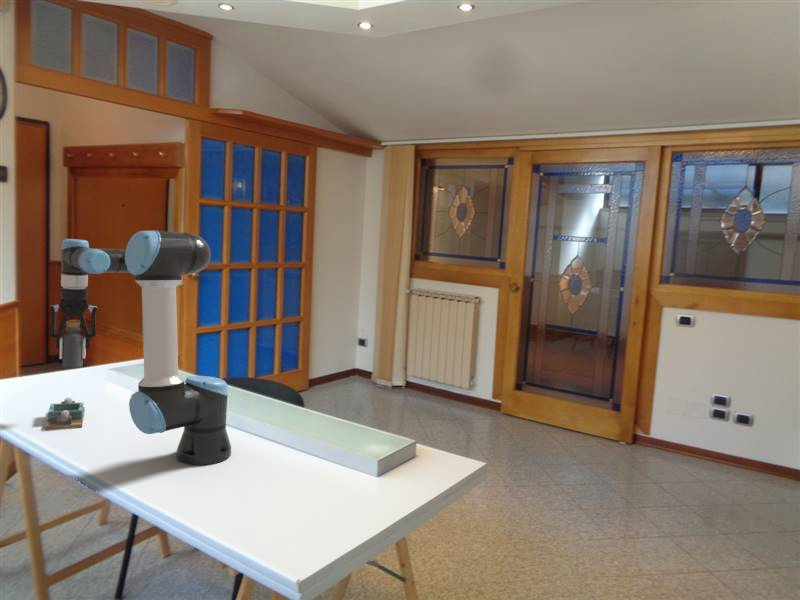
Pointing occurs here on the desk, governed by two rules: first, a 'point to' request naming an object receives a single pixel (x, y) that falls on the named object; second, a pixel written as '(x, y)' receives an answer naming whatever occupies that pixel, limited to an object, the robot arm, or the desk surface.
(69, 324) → the bottle
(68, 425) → the block
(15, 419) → the desk surface
